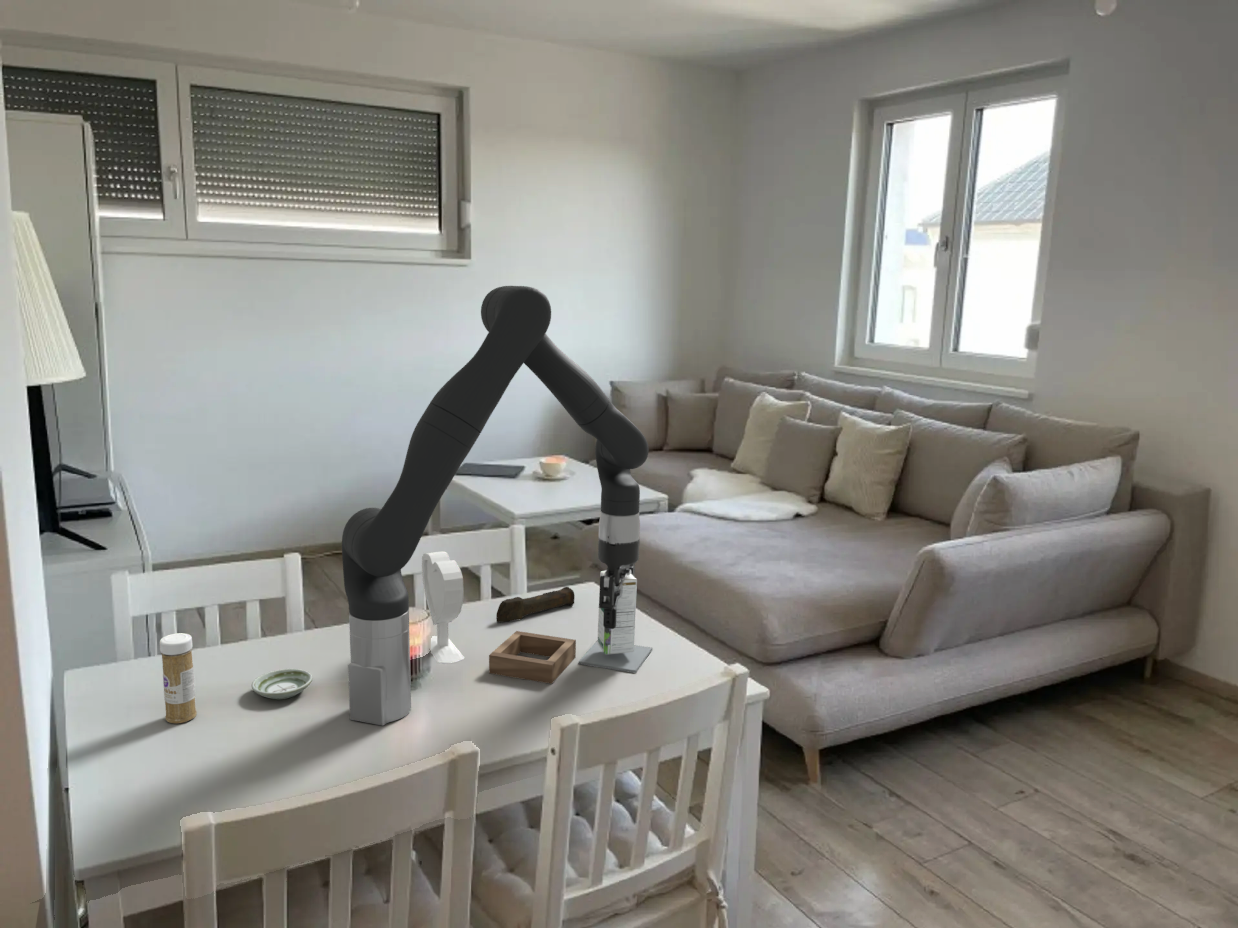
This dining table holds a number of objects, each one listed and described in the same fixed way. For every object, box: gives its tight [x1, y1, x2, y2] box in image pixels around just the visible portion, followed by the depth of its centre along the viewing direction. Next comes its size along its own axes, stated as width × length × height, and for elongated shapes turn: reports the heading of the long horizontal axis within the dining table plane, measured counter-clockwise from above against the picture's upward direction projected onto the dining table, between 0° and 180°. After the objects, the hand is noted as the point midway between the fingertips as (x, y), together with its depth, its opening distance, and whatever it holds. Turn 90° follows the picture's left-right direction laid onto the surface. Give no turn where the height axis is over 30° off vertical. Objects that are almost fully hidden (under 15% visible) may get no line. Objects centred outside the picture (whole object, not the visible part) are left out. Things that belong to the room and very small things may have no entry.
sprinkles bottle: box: [159, 632, 198, 724], centre depth 144 cm, size 5×5×13 cm
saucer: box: [251, 668, 314, 700], centre depth 155 cm, size 10×10×2 cm
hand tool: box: [495, 586, 576, 623], centre depth 194 cm, size 19×4×5 cm, turn 129°
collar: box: [488, 630, 577, 685], centre depth 168 cm, size 12×12×4 cm
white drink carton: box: [597, 569, 638, 655], centre depth 171 cm, size 6×6×14 cm
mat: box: [578, 639, 653, 674], centre depth 173 cm, size 11×11×1 cm
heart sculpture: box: [421, 551, 465, 664], centre depth 172 cm, size 16×5×18 cm, turn 27°
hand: (616, 619), depth 171 cm, fingers closed on white drink carton, 8 cm apart
